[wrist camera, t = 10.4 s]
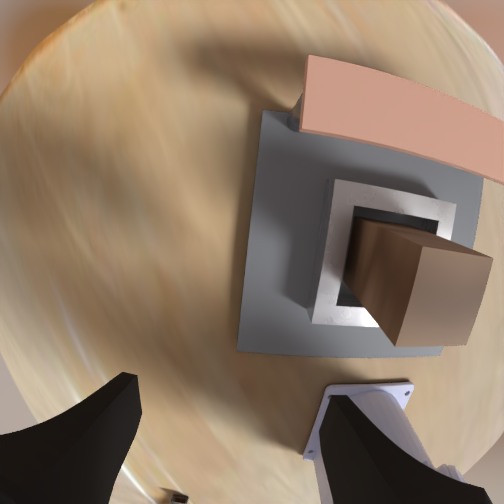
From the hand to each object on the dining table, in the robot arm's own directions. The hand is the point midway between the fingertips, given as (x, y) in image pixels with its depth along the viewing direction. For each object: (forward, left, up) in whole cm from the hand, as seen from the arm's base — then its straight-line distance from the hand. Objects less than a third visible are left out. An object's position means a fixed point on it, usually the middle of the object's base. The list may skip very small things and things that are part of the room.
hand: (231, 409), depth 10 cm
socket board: (+5, -8, -10) cm, 14 cm away
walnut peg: (+5, -8, -9) cm, 13 cm away
